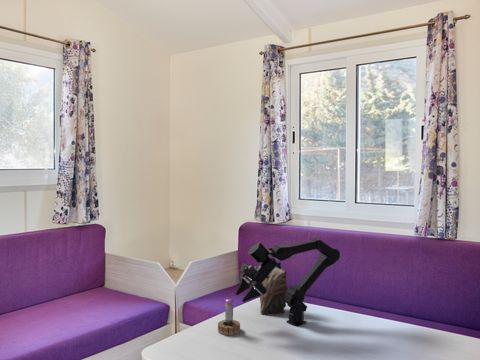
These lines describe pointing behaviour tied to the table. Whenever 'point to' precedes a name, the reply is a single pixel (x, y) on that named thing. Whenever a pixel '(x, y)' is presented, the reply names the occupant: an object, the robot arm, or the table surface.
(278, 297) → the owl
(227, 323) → the purple capped tube
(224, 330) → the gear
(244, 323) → the table surface
